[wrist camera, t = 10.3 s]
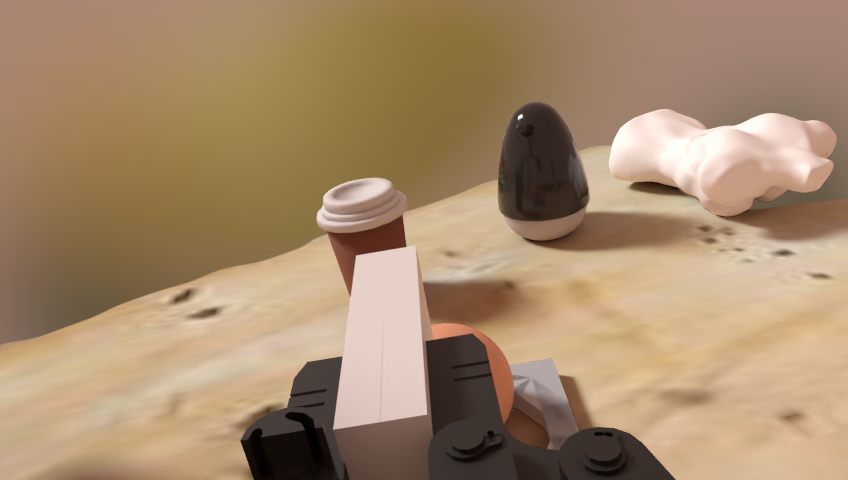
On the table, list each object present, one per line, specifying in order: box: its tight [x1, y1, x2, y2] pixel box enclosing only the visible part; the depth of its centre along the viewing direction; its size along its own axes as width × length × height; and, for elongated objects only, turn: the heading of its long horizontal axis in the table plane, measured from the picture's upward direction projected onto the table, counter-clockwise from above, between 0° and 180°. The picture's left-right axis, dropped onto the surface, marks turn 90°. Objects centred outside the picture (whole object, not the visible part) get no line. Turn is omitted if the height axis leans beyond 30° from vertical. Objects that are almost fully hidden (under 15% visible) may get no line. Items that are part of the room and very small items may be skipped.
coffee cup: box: [317, 178, 408, 298], centre depth 68 cm, size 9×9×12 cm
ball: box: [431, 323, 514, 425], centre depth 46 cm, size 9×9×9 cm
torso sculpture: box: [609, 109, 836, 217], centre depth 75 cm, size 18×10×25 cm
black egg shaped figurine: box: [498, 102, 590, 241], centre depth 74 cm, size 10×10×15 cm
